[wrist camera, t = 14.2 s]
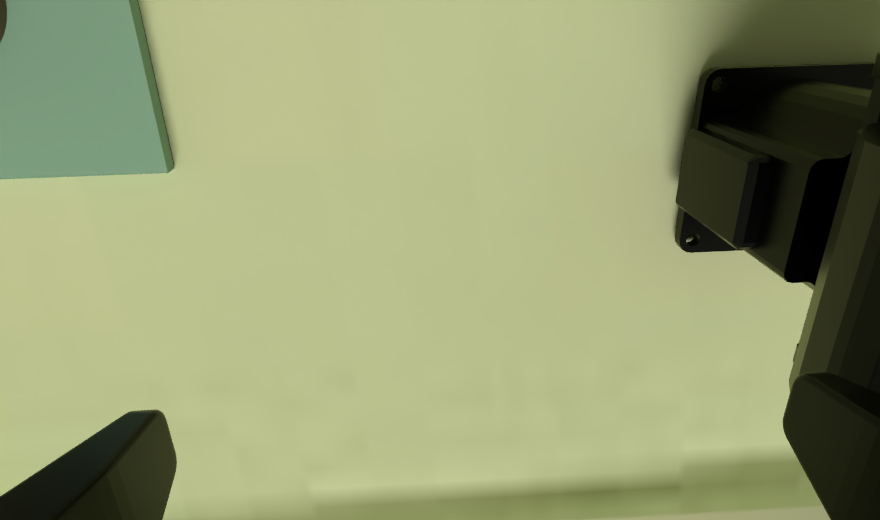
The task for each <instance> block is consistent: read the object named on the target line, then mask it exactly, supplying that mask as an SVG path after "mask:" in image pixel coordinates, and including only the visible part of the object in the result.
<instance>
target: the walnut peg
mask: <svg viewBox="0 0 880 520" xmlns="http://www.w3.org/2000/svg"><path fill="white" fill-rule="evenodd" d="M6 23H7V7H6V0H0V42H1V40H2V38H3V36H4V33H5V29H6Z"/></svg>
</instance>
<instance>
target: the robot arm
mask: <svg viewBox="0 0 880 520" xmlns="http://www.w3.org/2000/svg"><path fill="white" fill-rule="evenodd" d="M717 77H720V78H721V84H720V87H719V88H718V89H717V90H714V91H713V89H712V83H713V81H714V80H715V79H716V78H717ZM874 79H875V82H874ZM676 203H677V204H678V205H679V206H680V207H679V214H678V220H677V227H676V233H675V242H676V244H677V245H678V246H679V247H680V248H681V249H682V250H684V251H686V252H712V251H734V250H744V251H746V252H747V253H748V254H750V255H751V256H753V257H754V258H755V259H757V260H758V261H759V262H761V263H762V264H764V265H765V266H766V267H768V268H769V269H770V270H772V271H773V272H775V273H776V274H777V275H779V276H780V277H781V278H783V279H784V280H785V281H787V282H791V283H799V282H802V283H804V284H805V285H807V286H808V287H810V288H811V289H812V290H814V291H813V295H812V298H811V302H810V306H809V309H808V313H807V316H806V320H805V324H804V327H803V331H802V334H801V338H800V342H799V343H798V344H797V347H796V350H795V354H794V358H793V362H794V363H793V367H792V371H791V374H790V378H789V386H790V395H789V399H788V402H787V406H786V410H785V413H784V417H783V428H784V432H785V435H786V438H787V440H788V441H789V443H790V445H791V447H792V449H793V451H794V453H795V454H796V456H797V458H798V460H799V462H800V464H801V465H802V467H803V469H804V471H805V473H806V475H807V477H808V478H809V480H810V482H811V484H812V486H813V488H814V490H815V491H816V493H817V495H818V497H819V499H820V501H821V503H822V504H823V506H824V508H825V510H826V512H827V514H828V515H829V517H830V519H831V520H880V53H877V57H876V60H875V62H867V63H836V64H804V65H772V66H741V67H715V68H711V69H709V70H708V71H706V72H705V73H704V74H703V75H702V77H701V79H700V82H699V86H698V92H697V99H696V105H695V112H694V118H693V124H692V129H691V131H690V132H689V133H688V134H687V135H686V137H685V144H684V150H683V157H682V163H681V170H680V177H679V183H678V190H677V196H676ZM694 233H695V237H694V239H693V240H692V241H690V242H686V239H687V237H688V236H689V235H690V234H694ZM176 464H177V460H176V453H175V449H174V446H173V442H172V439H171V435H170V431H169V428H168V424H167V421H166V418H165V416H164V414H163V413H162V412H161V411H159V410H141V411H131V412H128V413H126V414H125V415H123V416H121V417H120V418H118V419H117V420H115V421H114V422H112V423H111V424H109V425H108V426H106V427H105V428H103V429H102V430H100V431H99V432H97V433H96V434H94V435H93V436H91V437H90V438H88V439H87V440H85V441H84V442H82V443H81V444H79V445H78V446H76V447H75V448H73V449H72V450H70V451H68V452H67V453H65V454H64V455H62V456H61V457H59V458H58V459H56V460H55V461H53V462H52V463H50V464H49V465H47V466H46V467H44V468H43V469H41V470H40V471H38V472H37V473H35V474H34V475H32V476H31V477H29V478H28V479H26V480H25V481H23V482H22V483H20V484H18V485H17V486H15V487H14V488H12V489H11V490H9V491H8V492H6V493H5V494H3V495H2V496H0V520H162V519H163V515H164V512H165V508H166V505H167V501H168V498H169V494H170V490H171V487H172V483H173V480H174V476H175V472H176Z"/></svg>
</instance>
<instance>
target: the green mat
mask: <svg viewBox="0 0 880 520" xmlns="http://www.w3.org/2000/svg"><path fill="white" fill-rule="evenodd" d="M6 7H7V23H6V29H5V33H4V36H3V38H2V40H1V42H0V179H21V178H47V177H74V176H100V175H126V174H153V173H168V172H170V171H171V170H173V169H174V164H173V159H172V155H171V150H170V146H169V141H168V137H167V132H166V128H165V123H164V119H163V114H162V110H161V105H160V100H159V96H158V91H157V87H156V82H155V78H154V73H153V69H152V64H151V60H150V55H149V51H148V46H147V42H146V37H145V32H144V28H143V23H142V19H141V14H140V10H139V5H138V1H137V0H6Z"/></svg>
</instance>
